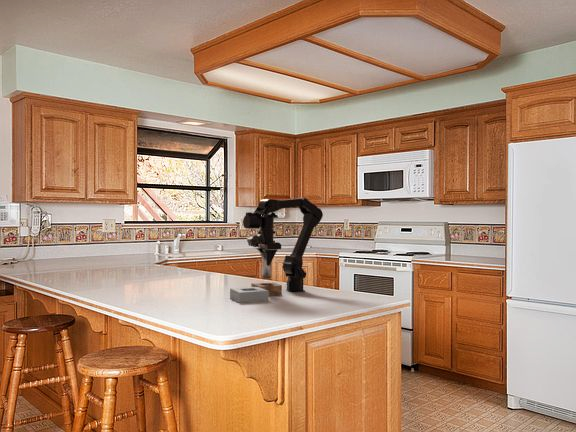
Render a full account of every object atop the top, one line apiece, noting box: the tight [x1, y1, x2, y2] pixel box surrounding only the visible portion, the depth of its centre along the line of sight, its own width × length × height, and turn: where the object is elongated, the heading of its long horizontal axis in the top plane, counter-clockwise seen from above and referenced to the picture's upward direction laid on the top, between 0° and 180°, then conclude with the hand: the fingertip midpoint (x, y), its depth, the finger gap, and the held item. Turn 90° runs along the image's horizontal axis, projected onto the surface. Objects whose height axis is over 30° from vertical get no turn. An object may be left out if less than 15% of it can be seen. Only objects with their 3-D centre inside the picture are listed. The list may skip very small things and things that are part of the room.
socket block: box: [229, 286, 270, 304], centre depth 206 cm, size 12×12×4 cm
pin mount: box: [250, 281, 283, 296], centre depth 222 cm, size 10×10×4 cm
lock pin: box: [260, 252, 272, 280], centre depth 222 cm, size 5×5×11 cm
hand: (266, 265), depth 222 cm, fingers closed on lock pin, 4 cm apart
